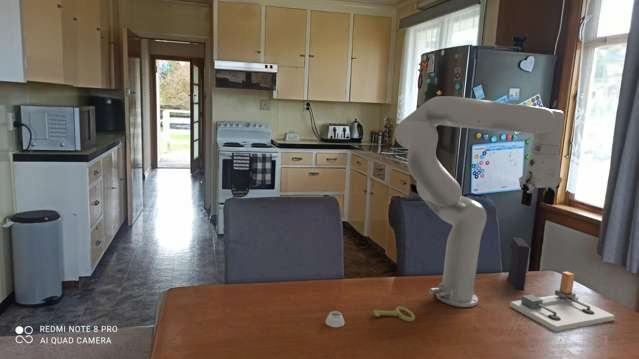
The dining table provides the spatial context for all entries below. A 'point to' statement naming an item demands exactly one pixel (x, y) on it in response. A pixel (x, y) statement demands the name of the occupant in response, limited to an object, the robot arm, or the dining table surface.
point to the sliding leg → (568, 288)
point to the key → (395, 313)
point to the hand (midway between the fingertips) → (537, 204)
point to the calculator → (519, 263)
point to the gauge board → (560, 312)
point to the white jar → (335, 319)
